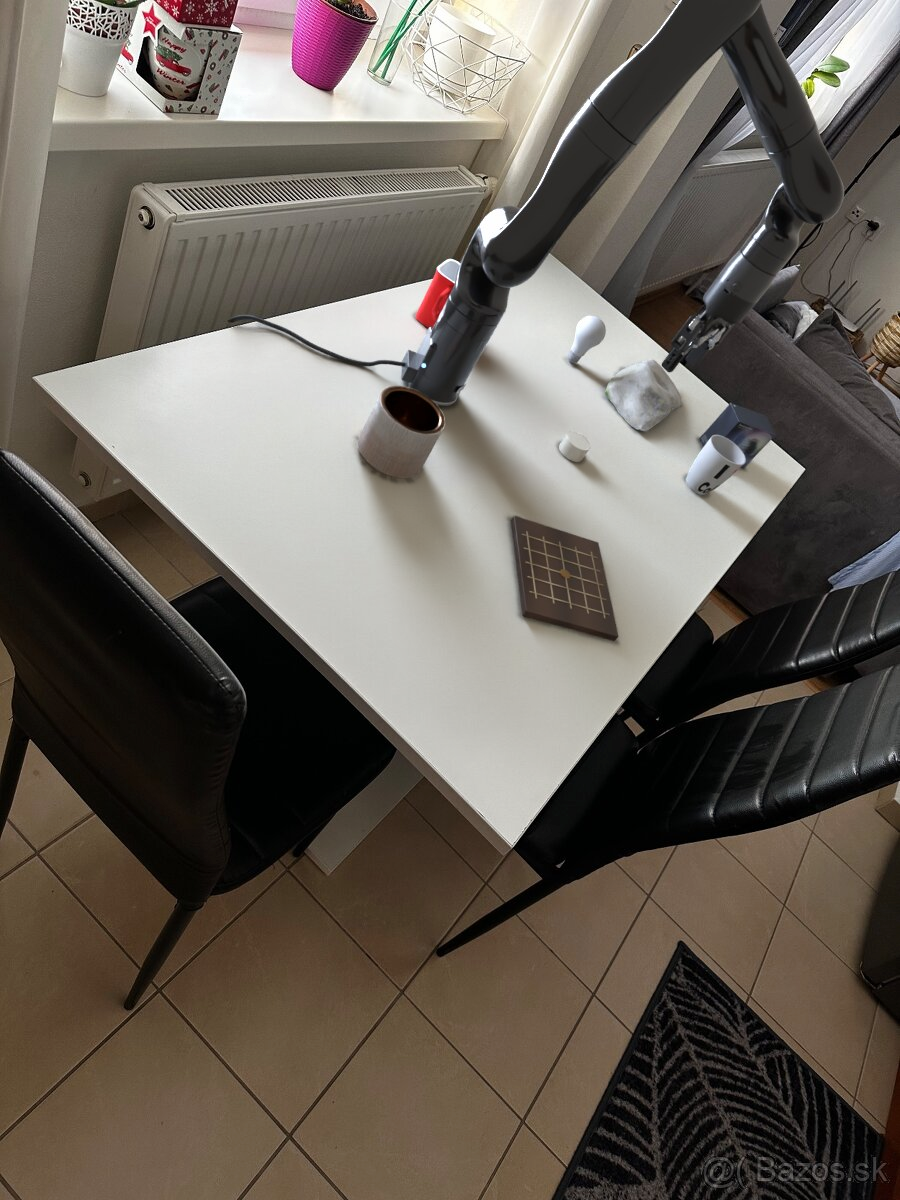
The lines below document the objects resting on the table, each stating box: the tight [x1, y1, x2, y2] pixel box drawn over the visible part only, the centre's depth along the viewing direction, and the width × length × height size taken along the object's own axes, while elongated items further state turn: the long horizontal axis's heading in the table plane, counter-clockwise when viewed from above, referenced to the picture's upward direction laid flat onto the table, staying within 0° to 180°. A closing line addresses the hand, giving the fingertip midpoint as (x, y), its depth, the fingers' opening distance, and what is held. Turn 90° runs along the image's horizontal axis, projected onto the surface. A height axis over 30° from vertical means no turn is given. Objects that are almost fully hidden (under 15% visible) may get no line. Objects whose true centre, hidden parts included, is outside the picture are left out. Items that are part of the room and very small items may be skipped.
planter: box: [357, 385, 446, 479], centre depth 131 cm, size 11×11×10 cm
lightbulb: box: [566, 315, 607, 364], centre depth 177 cm, size 6×6×11 cm
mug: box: [415, 258, 461, 329], centre depth 162 cm, size 12×8×11 cm
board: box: [510, 515, 619, 642], centre depth 133 cm, size 16×20×1 cm
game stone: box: [558, 430, 592, 463], centre depth 157 cm, size 5×5×3 cm
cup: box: [685, 435, 746, 496], centre depth 168 cm, size 8×8×10 cm
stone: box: [604, 358, 683, 432], centre depth 183 cm, size 28×7×15 cm
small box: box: [698, 402, 777, 470], centre depth 181 cm, size 11×6×10 cm, turn 99°
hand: (678, 366), depth 147 cm, fingers open, 8 cm apart
